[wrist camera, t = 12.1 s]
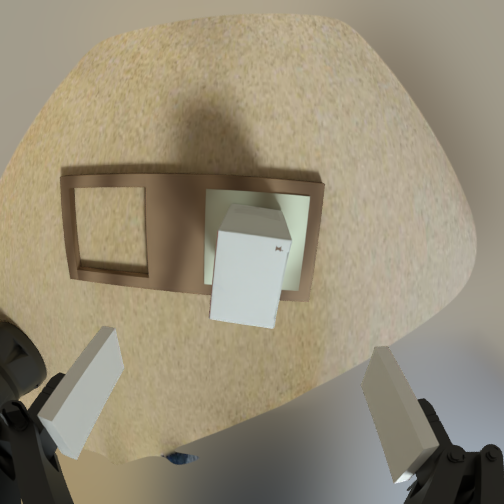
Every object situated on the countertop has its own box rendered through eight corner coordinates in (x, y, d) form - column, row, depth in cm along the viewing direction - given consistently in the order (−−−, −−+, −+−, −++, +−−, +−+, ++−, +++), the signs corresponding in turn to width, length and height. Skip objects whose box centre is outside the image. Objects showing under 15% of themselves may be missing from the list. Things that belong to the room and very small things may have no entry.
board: (74, 275, 36) (69, 279, 35) (65, 175, 32) (59, 176, 30) (307, 297, 36) (309, 302, 35) (322, 182, 31) (325, 184, 30)
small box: (231, 201, 31) (216, 226, 21) (283, 210, 31) (293, 238, 21) (222, 271, 34) (206, 320, 24) (270, 278, 34) (274, 330, 24)
